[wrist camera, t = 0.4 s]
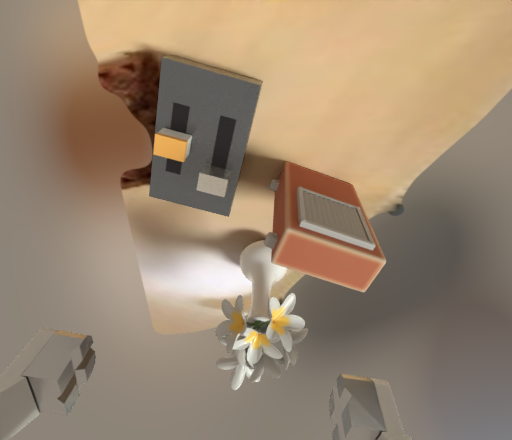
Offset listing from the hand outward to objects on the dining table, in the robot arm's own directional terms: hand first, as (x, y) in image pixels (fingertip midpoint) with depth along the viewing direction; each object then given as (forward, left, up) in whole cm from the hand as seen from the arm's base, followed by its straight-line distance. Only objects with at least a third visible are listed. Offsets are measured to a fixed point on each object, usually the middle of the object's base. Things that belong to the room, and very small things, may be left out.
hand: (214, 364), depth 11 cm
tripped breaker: (+9, -12, -41) cm, 44 cm away
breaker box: (+9, -9, -46) cm, 47 cm away
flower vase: (+29, +7, -46) cm, 54 cm away
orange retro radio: (+12, +11, -46) cm, 49 cm away
